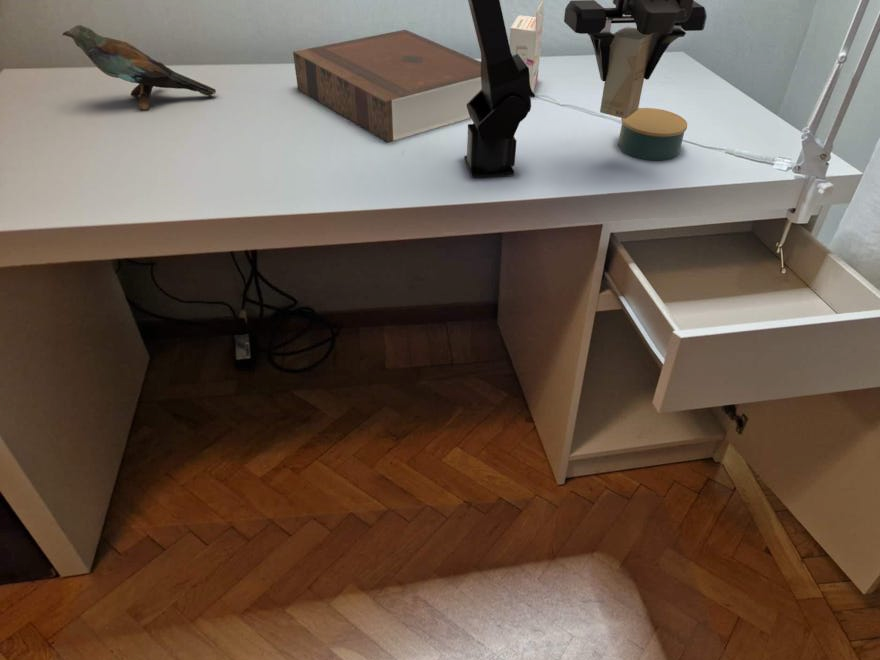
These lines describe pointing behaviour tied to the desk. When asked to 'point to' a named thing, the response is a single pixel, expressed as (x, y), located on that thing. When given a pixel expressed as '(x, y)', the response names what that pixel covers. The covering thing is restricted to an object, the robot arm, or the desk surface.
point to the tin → (652, 134)
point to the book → (390, 82)
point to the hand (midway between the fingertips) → (624, 79)
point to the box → (625, 72)
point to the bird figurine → (131, 65)
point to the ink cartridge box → (528, 41)
